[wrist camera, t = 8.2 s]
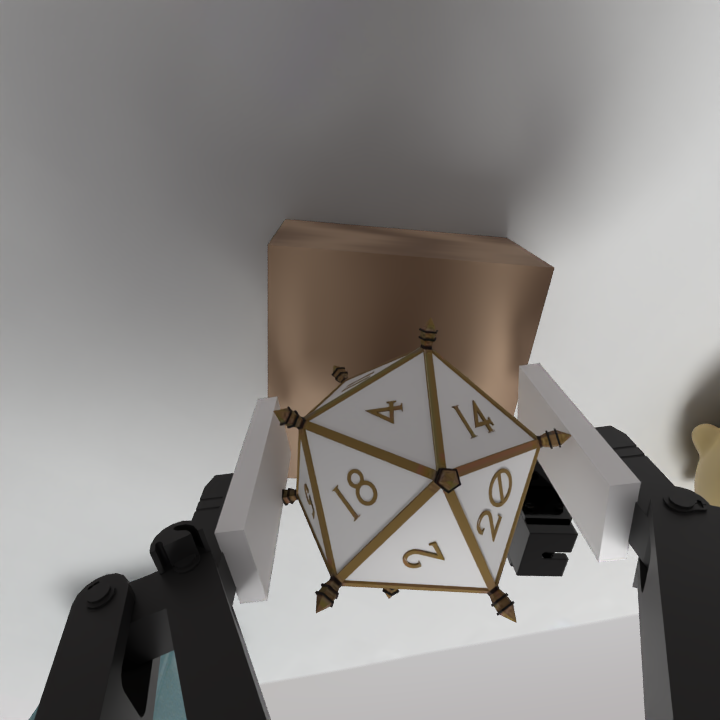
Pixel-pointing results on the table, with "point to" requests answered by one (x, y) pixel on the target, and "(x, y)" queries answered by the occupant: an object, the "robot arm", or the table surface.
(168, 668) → the flower pot
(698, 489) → the toy pig
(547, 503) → the black angular block
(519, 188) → the table surface
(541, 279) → the walnut block
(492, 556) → the game die
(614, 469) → the robot arm
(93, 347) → the table surface
